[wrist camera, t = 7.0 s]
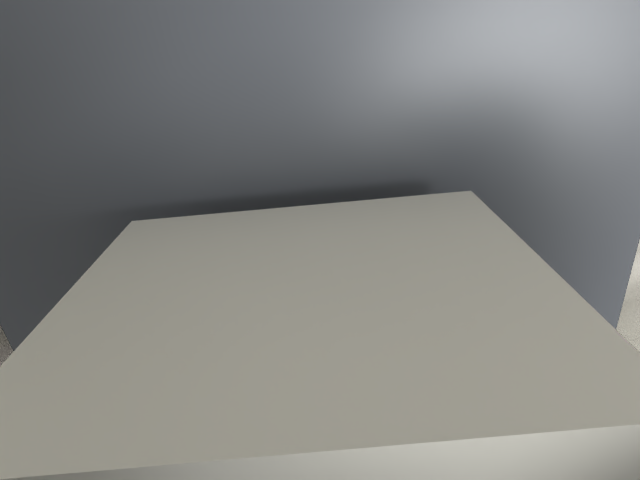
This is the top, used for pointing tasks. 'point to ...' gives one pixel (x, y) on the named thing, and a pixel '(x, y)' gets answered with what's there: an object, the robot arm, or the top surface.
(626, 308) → the top surface
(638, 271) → the top surface
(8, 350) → the top surface
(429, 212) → the cream brick
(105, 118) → the baseplate
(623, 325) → the top surface
